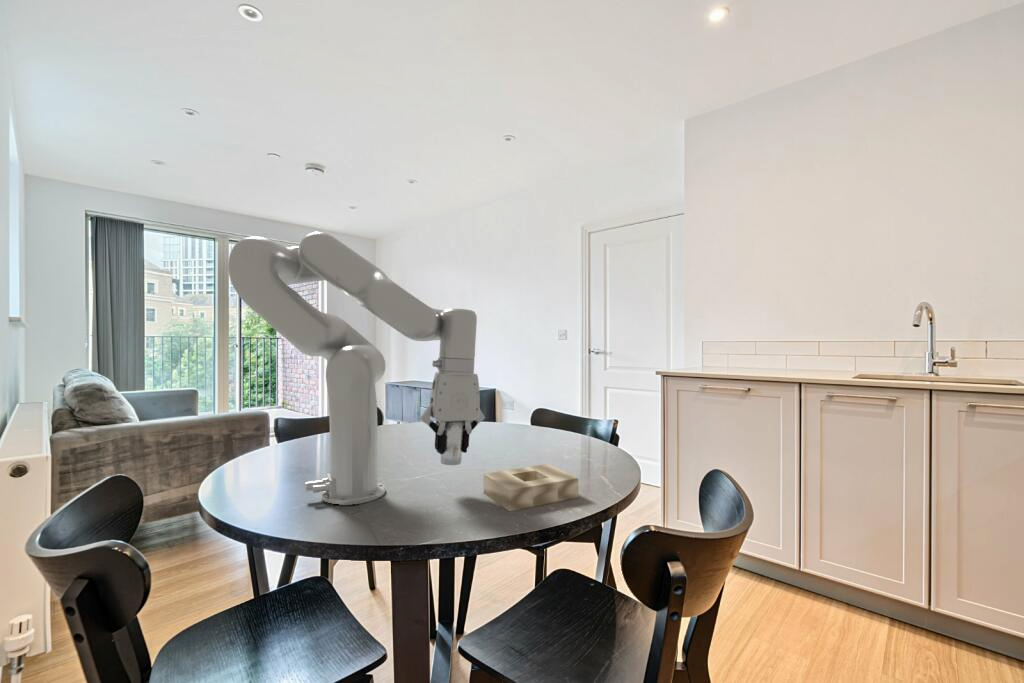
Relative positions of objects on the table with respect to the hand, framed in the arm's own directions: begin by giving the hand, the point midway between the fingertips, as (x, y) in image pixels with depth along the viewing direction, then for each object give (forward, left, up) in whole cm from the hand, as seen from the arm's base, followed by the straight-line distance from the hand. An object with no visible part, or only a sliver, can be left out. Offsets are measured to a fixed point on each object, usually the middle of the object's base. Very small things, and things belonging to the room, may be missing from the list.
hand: (451, 451), depth 96 cm
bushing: (0, 0, -2) cm, 2 cm away
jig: (+14, -10, -9) cm, 19 cm away
